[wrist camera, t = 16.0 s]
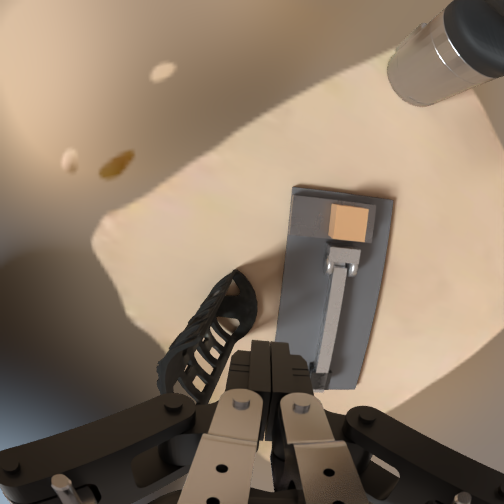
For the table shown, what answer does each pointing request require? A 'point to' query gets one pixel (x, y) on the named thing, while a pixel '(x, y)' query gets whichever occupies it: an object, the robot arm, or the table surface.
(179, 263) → the table surface
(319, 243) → the tray
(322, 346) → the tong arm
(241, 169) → the table surface
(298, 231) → the base
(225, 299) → the holder
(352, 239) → the tab
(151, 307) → the table surface
